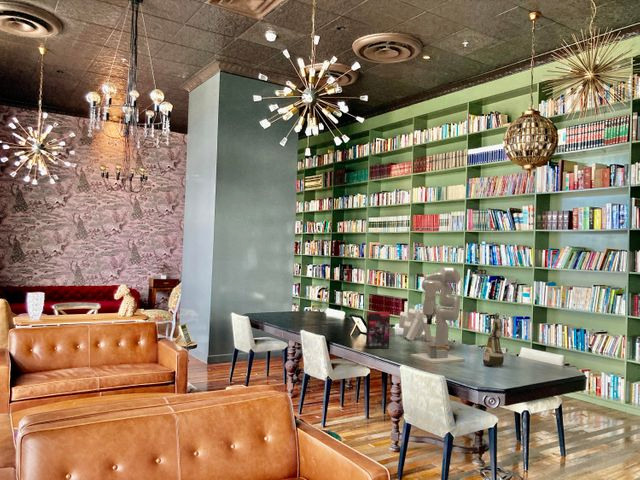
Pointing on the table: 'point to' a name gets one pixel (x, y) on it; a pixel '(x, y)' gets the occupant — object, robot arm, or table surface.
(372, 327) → the graphics card box
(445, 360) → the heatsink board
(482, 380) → the table surface
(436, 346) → the bar
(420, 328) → the pile of blocks
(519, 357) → the table surface
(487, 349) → the statue
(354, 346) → the table surface
